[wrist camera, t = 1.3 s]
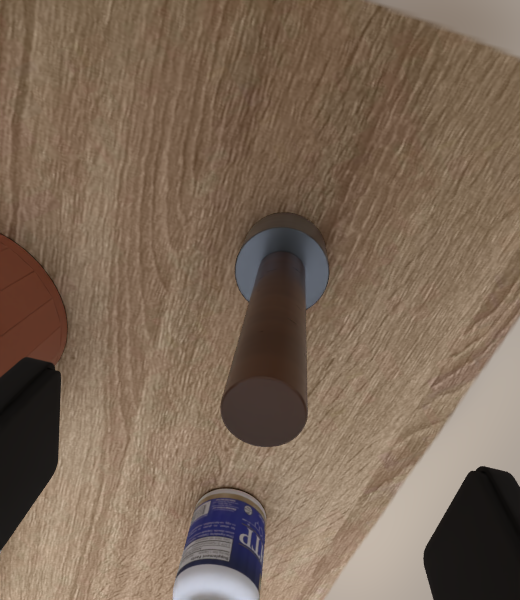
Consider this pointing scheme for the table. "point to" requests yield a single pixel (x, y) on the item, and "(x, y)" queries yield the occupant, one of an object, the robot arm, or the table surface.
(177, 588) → the pill bottle
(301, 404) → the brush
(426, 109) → the table surface
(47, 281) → the jar
